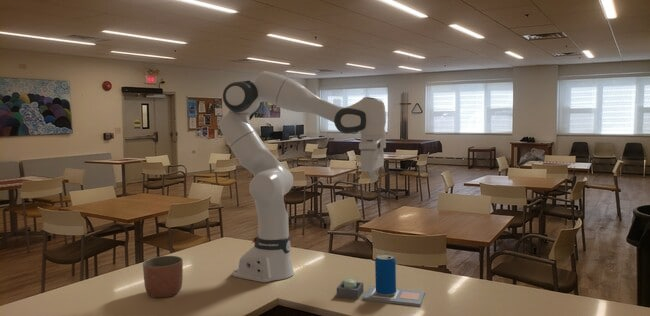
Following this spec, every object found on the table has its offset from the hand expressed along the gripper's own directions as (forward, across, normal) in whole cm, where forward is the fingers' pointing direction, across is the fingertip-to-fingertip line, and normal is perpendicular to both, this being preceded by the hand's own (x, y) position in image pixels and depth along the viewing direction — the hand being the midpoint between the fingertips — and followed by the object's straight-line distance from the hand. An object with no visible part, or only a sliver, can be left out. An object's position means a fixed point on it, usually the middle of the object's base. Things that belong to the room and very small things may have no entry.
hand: (373, 181), depth 170 cm
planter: (+34, +38, -62) cm, 80 cm away
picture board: (+34, +19, +11) cm, 41 cm away
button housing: (+34, +21, -3) cm, 40 cm away
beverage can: (+34, +19, +8) cm, 39 cm away
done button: (+33, +21, -3) cm, 39 cm away
